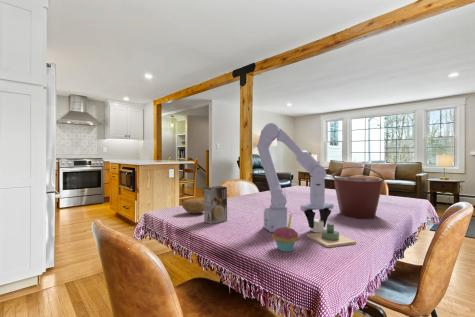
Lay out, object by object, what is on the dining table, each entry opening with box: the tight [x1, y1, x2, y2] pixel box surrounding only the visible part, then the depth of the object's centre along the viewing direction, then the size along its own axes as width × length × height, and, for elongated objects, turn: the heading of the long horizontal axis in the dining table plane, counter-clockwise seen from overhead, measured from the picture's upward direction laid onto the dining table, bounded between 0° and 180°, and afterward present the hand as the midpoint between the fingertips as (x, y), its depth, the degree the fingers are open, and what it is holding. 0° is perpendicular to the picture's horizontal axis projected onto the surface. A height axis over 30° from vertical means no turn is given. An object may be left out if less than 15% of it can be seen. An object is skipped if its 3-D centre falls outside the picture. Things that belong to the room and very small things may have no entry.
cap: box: [309, 218, 325, 233], centre depth 102 cm, size 5×5×4 cm
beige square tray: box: [306, 222, 357, 249], centre depth 91 cm, size 12×12×6 cm
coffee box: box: [203, 185, 228, 225], centre depth 116 cm, size 9×6×16 cm
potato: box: [181, 197, 204, 215], centre depth 131 cm, size 10×14×8 cm
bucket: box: [331, 165, 386, 220], centre depth 128 cm, size 24×22×25 cm
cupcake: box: [271, 213, 299, 253], centre depth 82 cm, size 9×8×12 cm
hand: (317, 227), depth 102 cm, fingers closed on cap, 5 cm apart
